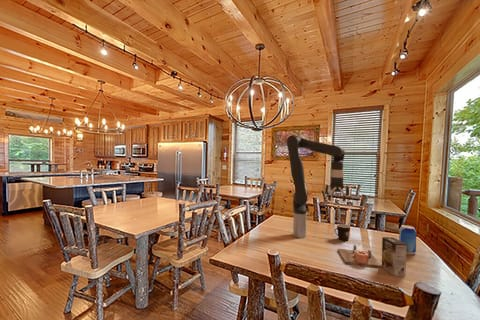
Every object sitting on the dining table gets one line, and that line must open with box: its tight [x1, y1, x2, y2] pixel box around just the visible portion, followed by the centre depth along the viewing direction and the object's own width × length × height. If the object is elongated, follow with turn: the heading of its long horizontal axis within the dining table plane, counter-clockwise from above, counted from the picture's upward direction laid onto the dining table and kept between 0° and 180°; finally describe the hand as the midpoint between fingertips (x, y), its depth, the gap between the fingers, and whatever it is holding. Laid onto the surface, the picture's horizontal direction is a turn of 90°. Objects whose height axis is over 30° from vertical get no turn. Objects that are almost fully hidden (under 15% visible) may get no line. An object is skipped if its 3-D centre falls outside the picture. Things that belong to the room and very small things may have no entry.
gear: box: [356, 250, 369, 264], centre depth 118 cm, size 6×6×4 cm
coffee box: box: [381, 236, 407, 277], centre depth 111 cm, size 9×6×16 cm
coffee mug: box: [334, 223, 351, 242], centre depth 154 cm, size 12×9×10 cm
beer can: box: [398, 224, 417, 255], centre depth 135 cm, size 8×8×16 cm
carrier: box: [337, 244, 383, 269], centre depth 124 cm, size 18×18×5 cm
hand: (336, 201), depth 141 cm, fingers open, 8 cm apart
